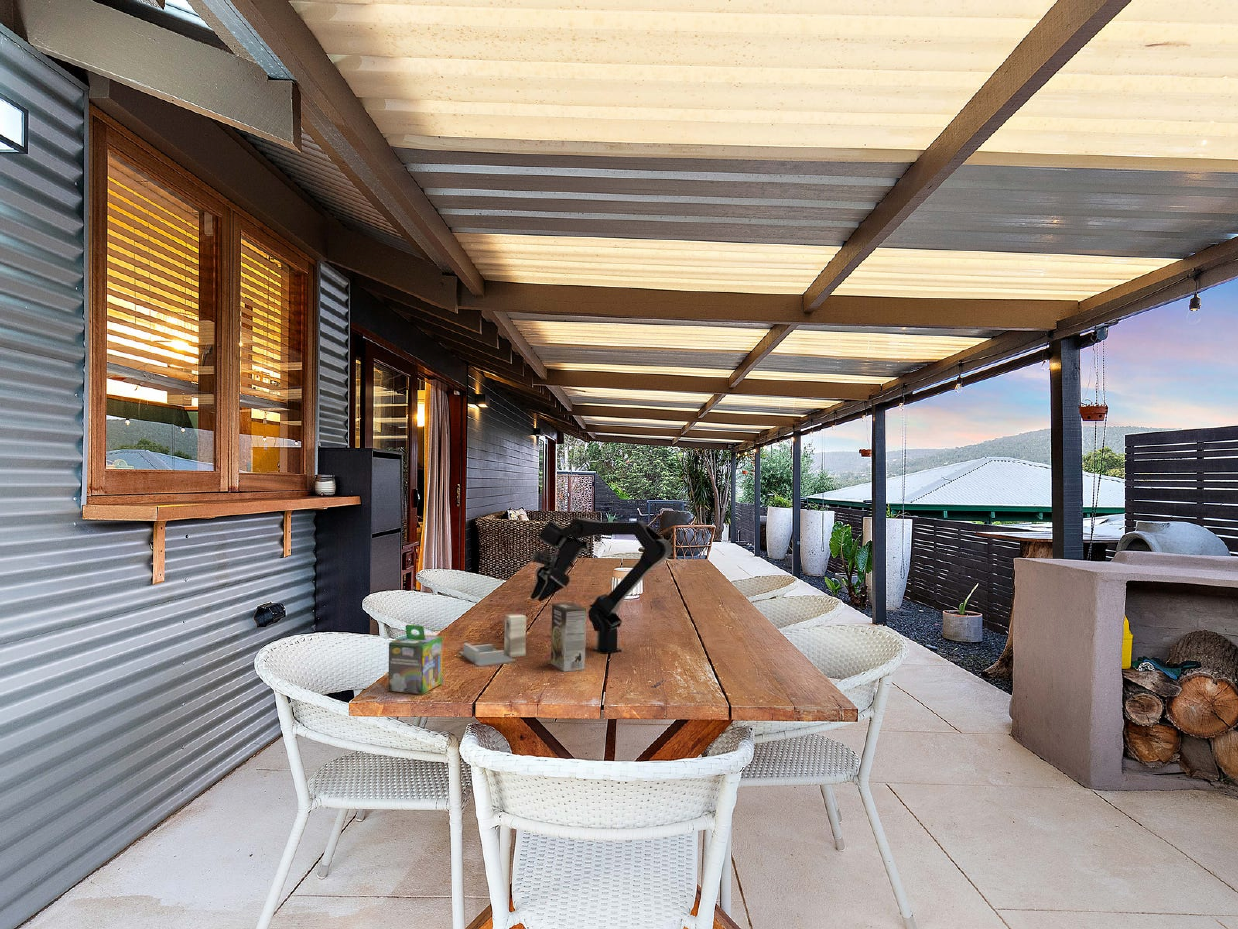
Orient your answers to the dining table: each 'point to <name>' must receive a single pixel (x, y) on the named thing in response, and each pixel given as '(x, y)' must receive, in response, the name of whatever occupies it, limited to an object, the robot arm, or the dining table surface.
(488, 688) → the dining table surface
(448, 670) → the dining table surface
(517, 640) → the link block
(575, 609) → the coffee box
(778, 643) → the dining table surface
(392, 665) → the chalk box
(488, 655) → the keeper bracket
